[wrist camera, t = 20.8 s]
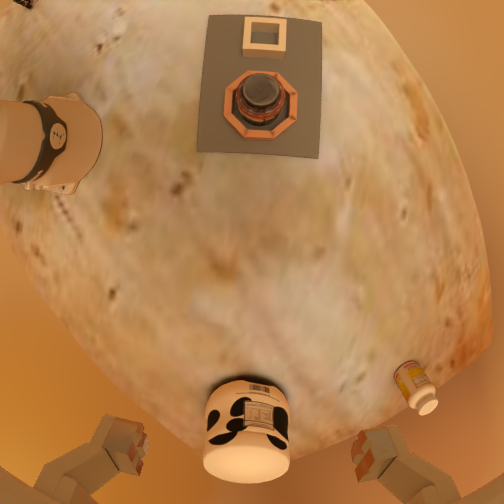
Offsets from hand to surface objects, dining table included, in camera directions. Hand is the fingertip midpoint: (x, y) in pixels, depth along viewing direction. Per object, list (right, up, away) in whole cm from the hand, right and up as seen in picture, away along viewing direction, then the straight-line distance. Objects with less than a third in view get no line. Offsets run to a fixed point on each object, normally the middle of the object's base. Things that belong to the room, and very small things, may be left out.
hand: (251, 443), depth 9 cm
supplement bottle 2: (+35, -20, +45) cm, 61 cm away
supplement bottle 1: (+1, +28, +29) cm, 40 cm away
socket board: (+1, +33, +28) cm, 44 cm away
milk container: (-1, -25, +47) cm, 53 cm away
